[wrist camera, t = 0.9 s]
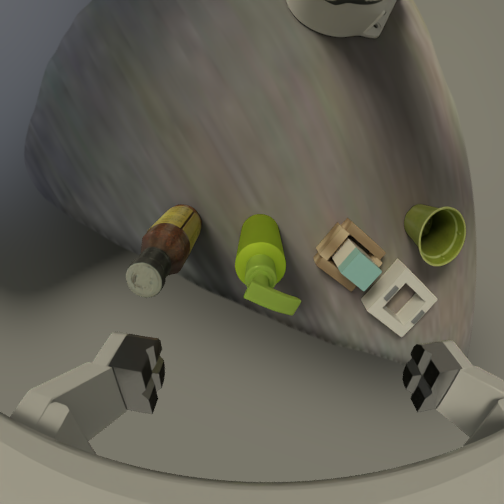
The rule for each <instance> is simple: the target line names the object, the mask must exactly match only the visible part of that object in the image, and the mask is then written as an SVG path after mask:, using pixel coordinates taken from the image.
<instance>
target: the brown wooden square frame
mask: <svg viewBox="0 0 504 504" xmlns="http://www.w3.org/2000/svg"><path fill="white" fill-rule="evenodd" d="M349 234H350V235H351V236H353V237H354V238H355V239H356V240H357V241H358V242H360V243H361V244H362V245H363V246H364V247H365V248H366V249H368V250H369V251H370V252H369V253H368V256H369V257H370V258H371V259H372V260H373V261H374V262H375V264H376V265H377V266H378V267H380V266H381V264H382V262H381V261H380V259H381V258H382V257H383V256H384V255H385V254H386V252H385V251H384V250H383V249H381V248H380V247H379V246H378V245H377V244H376V243H375V242H374V241H373V240H372V239H371V238H370V237H368V236H367V235H366V234H365V233H364V232H363V231H362V230H361V229H360V228H358V227H357V226H356V225H355V224H354V223H353V222H352V221H350V220H349V219H348V218H347V219H346V220H345V221H344V222H343V224H342V225H340V224H339V223H338V222H337V223H336V225H335V226H334V227H333V228H332V229H331V231H330V232H329V233H328V234H327V235H326V237H325V238H324V239H323V240H322V241H321V242H320V244H319V245H318V246H317V247H316V249H317V251H318V253H317V254H316V255H315V256H314V258H313V259H314V261H315V263H316V265H317V266H318V267H319V268H321V269H322V270H323V271H325V272H326V273H327V274H329V275H330V276H331V277H333V278H334V279H335V280H337V281H338V282H339V283H340V284H342V285H343V286H344V287H346V288H347V289H348V290H350V291H351V292H352V291H353V289H354V288H355V287H356V285H355V284H354V283H353V282H351V281H350V280H349V279H348V278H346V277H345V276H344V275H342V274H341V272H340V271H339V269H338V267H337V265H336V264H335V262H334V261H332V260H331V259H330V256H331V255H332V254H333V253H334V252H335V251H336V250H337V248H338V247H339V246H340V245H341V244H342V243H343V241H344V240H345V239H346V238H347V237H348V235H349Z"/></svg>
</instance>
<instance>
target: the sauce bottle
mask: <svg viewBox="0 0 504 504" xmlns="http://www.w3.org/2000/svg"><path fill="white" fill-rule="evenodd" d="M200 230H201V219H200V216H199V215H198V213H197V212H196V210H195V209H194V208H192V207H190V206H188V205H177V206H175V207H173V208H170V209H169V210H168V211H167V212H166V213H165V214H164V215H163V216H162V217H161V218H160V219H159V220H158V221H157V222H156V223H155V224H154V225H153V226H152V227H151V228H150V229H149V230H148V231H147V233H146V235H145V236H143V239H142V246H141V254H140V256H139V258H137V259H135V260H134V261H133V262H132V263H131V264H130V266H129V267H128V269H127V272H126V281H127V284H128V286H129V288H130V289H131V290H132V292H134V293H135V294H137V295H138V296H141V297H153V296H155V295H157V294H158V293H159V292H160V291H161V289H162V288H163V286H164V284H165V278H166V276H168V275H171V274H176V273H178V272H179V271H180V270H181V268H182V267H183V265H184V263H185V261H186V260H187V258H188V256H189V254H190V252H191V250H192V248H193V246H194V243H195V242H196V240H197V238H198V236H199V234H200Z"/></svg>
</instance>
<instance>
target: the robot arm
mask: <svg viewBox="0 0 504 504" xmlns="http://www.w3.org/2000/svg"><path fill="white" fill-rule="evenodd" d="M286 1H287V4H288V7H289V9H290V10H291V12H292V13H293V15H294V16H295V17H296V18H297V19H298V20H299V21H300V22H301V23H303V24H304V25H306V26H307V27H309V28H310V29H312V30H314V31H317V32H319V33H322V34H325V35H329V36H334V37H349V36H357V35H358V36H364V37H368V38H377V37H378V36H379V35H380V33H381V31H382V29H383V27H384V25H385V23H386V21H387V19H388V17H389V15H390V13H391V11H392V9H393V7H394V5H395V3H396V1H397V0H286ZM373 25H375V26H376V27H377V28H375V27H374V26H373ZM161 351H162V346H161V341H160V340H159V339H158V338H152V337H145V336H139V335H133V334H126V333H121V332H113V333H111V335H110V336H109V338H108V339H107V341H106V342H105V344H104V345H103V347H102V348H101V350H100V351H99V353H98V354H97V356H96V357H95V359H94V360H93V362H92V363H90V362H87V363H84V364H83V365H80V366H78V367H76V368H74V369H72V370H70V371H68V372H66V373H64V374H62V375H60V376H58V377H55V378H53V379H51V380H49V381H47V382H45V383H43V384H41V385H38V386H36V387H34V388H32V389H30V390H29V391H28V392H27V394H26V395H25V396H24V398H23V399H22V401H21V402H20V403H19V405H18V406H17V408H16V409H15V411H14V412H13V414H12V415H11V416H10V417H8V416H7V415H5V414H3V413H1V412H0V504H504V380H502V379H500V378H498V377H496V376H494V375H493V374H491V373H489V372H487V371H485V370H483V369H481V368H479V367H477V366H473V365H472V364H471V363H470V361H469V360H468V359H467V358H466V356H465V355H464V354H463V352H462V351H461V350H460V349H459V347H458V346H457V345H456V344H455V343H454V341H452V340H445V341H439V342H432V343H423V344H416V345H415V346H414V347H413V349H412V351H411V357H412V359H411V360H410V361H409V362H408V363H406V365H405V368H404V371H403V383H404V386H405V388H406V390H408V391H409V392H411V393H412V396H411V400H412V402H413V404H414V406H415V408H416V411H417V412H422V411H427V410H432V409H437V410H438V411H439V412H440V413H441V414H442V415H444V416H445V417H446V418H447V419H448V420H450V421H451V422H452V423H453V424H455V425H456V426H457V427H458V428H459V429H460V430H462V431H463V432H464V433H465V434H466V435H468V436H469V437H470V438H469V439H468V441H467V442H466V443H465V444H464V446H463V447H461V448H459V449H456V450H453V451H450V452H447V453H445V454H442V455H439V456H436V457H432V458H429V459H426V460H423V461H419V462H416V463H412V464H408V465H405V466H401V467H396V468H392V469H388V470H383V471H378V472H373V473H367V474H362V475H355V476H349V477H341V478H333V479H324V480H313V481H297V482H241V481H225V480H213V479H205V478H197V477H189V476H182V475H176V474H171V473H165V472H160V471H155V470H150V469H145V468H141V467H137V466H133V465H129V464H125V463H122V462H118V461H115V460H111V459H108V458H104V457H101V456H98V455H96V453H95V451H94V450H93V449H92V447H91V445H90V444H89V442H88V441H89V440H90V439H92V438H93V437H94V436H95V435H97V434H98V433H99V432H101V431H102V430H103V429H104V428H106V427H107V426H108V425H110V424H111V423H112V422H113V421H115V420H116V419H117V418H119V417H120V416H121V415H122V414H124V413H125V412H126V411H127V410H131V411H137V412H142V413H149V414H153V412H154V409H155V406H156V403H157V400H158V396H157V391H158V390H160V389H161V388H162V385H163V382H164V376H165V364H164V360H163V359H162V358H161V357H160V353H161Z"/></svg>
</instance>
